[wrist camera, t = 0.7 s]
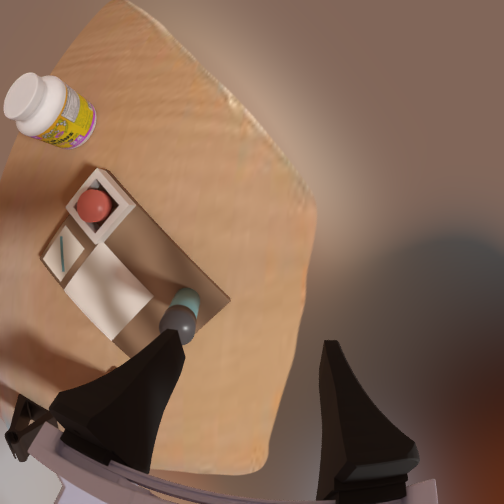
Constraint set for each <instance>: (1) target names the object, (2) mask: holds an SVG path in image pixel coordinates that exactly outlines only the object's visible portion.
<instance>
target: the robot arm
mask: <svg viewBox="0 0 504 504" xmlns="http://www.w3.org/2000/svg"><path fill="white" fill-rule="evenodd" d="M184 361H185V354H184V351H183V347H182V344H181V340H180V337H179V333H178V330H174V329H166V330H165V331H163V332H162V333H161V334H160V335H159V336H158V337H156V338H155V339H154V340H153V341H152V342H151V343H150V344H148V345H147V346H146V347H145V348H144V349H142V350H141V351H140V352H139V353H137V354H136V355H135V356H133V357H132V358H131V359H129V360H128V361H127V362H125V363H124V364H123V365H121V366H120V367H118V368H116V369H115V370H113V371H112V372H110V373H108V374H106V375H104V376H102V377H100V378H98V379H96V380H94V381H92V382H90V383H87V384H85V385H82V386H79V387H77V388H73V389H70V390H66V391H63V392H59V394H58V395H57V396H56V398H55V399H54V401H53V402H52V404H51V405H50V407H49V411H50V413H51V414H52V416H53V417H54V418H55V419H56V420H57V421H58V422H59V423H60V424H61V425H62V426H63V427H64V428H65V431H64V432H62V431H60V430H59V429H58V428H56V427H54V426H53V425H51V424H49V423H48V422H45V423H44V425H43V426H42V428H41V429H40V431H39V433H38V434H37V436H36V438H35V439H34V441H33V442H32V444H31V446H30V447H29V449H28V453H29V454H30V455H32V456H33V457H34V458H36V459H37V460H38V461H40V462H41V463H42V464H44V465H45V466H46V467H48V468H49V469H51V470H52V471H53V472H55V473H56V474H57V476H58V478H59V479H60V481H61V483H62V485H63V486H62V488H61V490H60V492H59V494H58V496H57V498H56V500H55V502H54V504H178V503H174V502H171V501H167V500H164V499H161V498H159V497H157V496H155V495H154V494H152V493H151V492H150V491H149V490H146V489H144V488H142V487H140V486H143V487H145V488H148V489H151V490H154V491H157V492H160V493H163V494H166V495H169V496H173V497H176V498H179V499H183V500H187V501H191V502H195V503H199V504H438V499H437V490H436V483H435V479H431V480H428V481H424V482H420V483H416V484H413V485H410V486H407V487H406V484H405V482H406V481H407V480H408V476H407V473H408V472H410V471H411V470H412V469H413V468H414V467H416V466H417V465H418V463H419V461H420V459H419V453H418V450H417V447H416V444H415V442H414V441H413V440H411V439H410V438H409V437H407V436H406V435H405V434H404V433H402V432H401V431H400V430H399V429H398V428H397V427H395V425H393V424H392V423H391V422H390V421H389V420H388V419H387V417H386V416H385V415H384V414H383V413H382V412H381V411H380V410H379V409H378V408H377V407H376V405H375V404H374V403H373V402H372V400H371V399H370V398H369V396H368V395H367V393H366V392H365V391H364V389H363V388H362V386H361V385H360V383H359V381H358V380H357V378H356V376H355V375H354V373H353V371H352V369H351V368H350V366H349V364H348V362H347V360H346V358H345V356H344V353H343V352H342V349H341V346H340V344H339V342H338V341H337V340H325V341H324V345H323V351H322V357H321V362H320V368H319V393H320V404H321V416H322V448H321V462H320V472H319V481H318V489H317V496H316V501H282V500H266V499H256V498H247V497H240V496H232V495H226V494H221V493H215V492H210V491H205V490H201V489H196V488H192V487H188V486H184V485H180V484H177V483H173V482H170V481H166V480H163V479H160V478H157V477H154V476H151V475H148V474H149V471H150V464H151V458H152V453H153V448H154V444H155V440H156V436H157V432H158V428H159V425H160V422H161V418H162V415H163V412H164V410H165V407H166V405H167V403H168V401H169V398H170V396H171V394H172V392H173V390H174V388H175V385H176V383H177V381H178V379H179V376H180V374H181V371H182V368H183V364H184ZM138 485H140V486H138Z"/></svg>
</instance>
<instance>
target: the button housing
mask: <svg viewBox="0 0 504 504" xmlns="http://www.w3.org/2000/svg"><path fill="white" fill-rule="evenodd" d="M101 185H102V186H103V187H104V188H105V189H106V190H107V192H108V193H109V194H110V195H111V196H112V197H113V199H114V200H115V201H116V202H117V203H118V204H119V206H118V207H117V208H116V210H115V211H114V212H113V213H112V214H111V215H110V217H109V218H108V219H107V220H106V221H105V222H104V224H103V225H102V226H101V227H99V225H98V224H97V223H96V222H92V223H88V222H85V221H83V220H82V219H81V218H80V216H79V214H78V211H77V202H78V199H79V197H80V196H81V194H82V193H83V192H85V191H87V190H90V189H93V190H97V189H98V188H99V187H100V186H101ZM135 206H136V204H135V203H134V202H133V201H132V200H131V199H130V198H129V197H128V195H127V194H126V193H125V192H124V191H123V190H122V189H121V187H120V186H119V185H118V184H117V183H116V182H115V181H114V179H113V178H112V177H111V176H110V175H109V174H108V173H107V171H105V170H102V169H99V168H96V169H95V171H94V172H93V173H92V174H91V175H90V176H89V178H88V179H87V180H86V181H85V183H84V184H83V185H82V186H81V188H80V189H79V190H78V191H77V193H76V194H75V195H74V196H73V198H72V199H71V200H70V202H69V203H68V204H67V206H66V207H65V208H66V209H67V210H68V212H69V213H70V214H71V215H72V217H73V218H74V219H75V221H76V222H77V223H78V224H79V226H80V227H81V228H82V229H83V230H84V232H85V233H86V234H87V235H88V237H89V238H90V239H91V240H92V241H93V242H94V244H95V245H96V244H99V243H102V242H105V240H106V239H107V238H108V237H109V236H110V235H111V233H112V232H113V231H114V230H115V229H116V228H117V226H118V225H119V224H120V223H121V222H122V221H123V220H124V218H125V217H126V216H127V215H128V214H129V213H130V212H131V211H132V210H133V208H134V207H135Z"/></svg>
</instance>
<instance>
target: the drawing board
mask: <svg viewBox="0 0 504 504" xmlns="http://www.w3.org/2000/svg"><path fill="white" fill-rule="evenodd" d="M105 171H107V173H108V174H109V175H110V176H111V177H112V178H113V179H114V181H115V182H116V183H117V184H118V185H119V186H120V187H121V189H122V190H123V191H124V192H125V193H126V194H127V195H128V197H129V198H130V199H131V200H132V201H133V202H134V203H135V204H136V206H135V207H134V208H133V210H132V211H131V212H130V213H129V214H128V215H127V216H126V217H125V218H124V220H123V221H122V222H121V223H120V224H119V225H118V226H117V228H116V229H115V230H114V231H113V232H112V233H111V235H110V236H109V237H108V238H107V239H106V240H105V242H102V243H99V244H96V245H95V244H94V242H93V241H92V240H91V239H90V238H89V237H88V235H87V234H86V233H85V232H84V230H83V229H82V228H81V227H80V226H79V224H78V223H77V222H76V221H75V219H74V218H73V217H72V215H71V214H69V216H68V217H67V218H66V220H65V221H64V223H63V224H62V225H61V227H60V228H59V230H58V231H57V233H56V234H55V235H54V237H53V238H52V240H51V241H50V243H49V245H48V246H47V248H46V249H45V251H44V252H43V254H42V256H41V257H40V260H41V261H42V263H43V264H44V265H45V267H46V268H47V269H48V271H49V272H50V273H51V274H52V276H53V277H54V278H55V280H56V281H57V282H58V283H59V284H60V286H61V287H62V288H63V289H64V291H65V292H66V293H67V295H68V296H69V297H70V298H71V299H72V300H73V302H74V303H75V304H76V305H77V306H78V307H79V308H80V309H81V310H82V312H83V313H84V314H85V315H86V316H87V317H88V318H89V319H90V320H91V321H92V322H93V323H94V324H95V325H96V326H97V327H98V328H99V329H100V330H101V331H102V332H103V333H104V334H105V335H106V336H107V337H108V338H109V339H110V340H111V341H112V342H114V343H115V344H116V345H117V346H118V347H119V348H120V349H121V350H122V351H123V352H124V353H125V354H126V355H128V356H129V357H130V358H132V357H133V356H135V355H136V354H137V353H139V352H140V351H141V350H142V349H144V348H145V347H146V346H147V345H148V344H150V343H151V342H152V341H153V340H154V339H155V338H156V337H158V336H159V335H160V332H159V323H160V320H161V318H162V317H163V315H164V313H165V311H166V310H167V309H168V307H169V305H170V304H171V302H172V300H173V298H174V296H175V294H176V292H177V291H178V290H180V289H182V288H191V289H193V290H195V291H196V292H197V293H198V295H199V297H200V305H199V310H198V315H197V324H196V329H195V333H196V332H197V331H198V330H199V329H201V328H202V327H203V326H204V325H205V324H206V323H207V322H208V321H209V320H211V319H212V318H213V317H214V316H215V315H216V314H217V313H218V312H219V311H220V310H222V309H223V308H224V307H225V306H226V305H227V304H228V303H229V302H230V301H231V300H230V298H229V297H228V296H227V295H226V294H225V293H224V292H223V291H222V290H221V289H220V288H219V287H218V286H217V285H216V284H215V283H214V282H213V281H212V280H211V279H210V278H209V277H208V276H207V275H206V274H205V273H204V272H203V271H202V270H201V269H200V268H199V267H198V266H197V265H196V264H195V263H194V262H193V261H192V260H191V259H190V258H189V257H188V256H187V255H186V254H185V253H184V252H183V251H182V249H181V248H180V247H179V246H178V245H177V244H176V243H175V242H174V241H173V240H172V239H171V238H170V237H169V236H168V235H167V234H166V233H165V232H164V231H163V230H162V228H161V227H160V226H159V225H158V224H157V223H156V222H155V221H154V220H153V219H152V218H151V217H150V216H149V215H148V213H147V212H146V211H145V210H144V209H143V208H142V207H141V206H140V205H139V204H138V202H137V201H136V200H135V199H134V198H133V197H132V196H131V195H130V194H129V192H128V191H127V190H126V189H125V188H124V187H123V186H122V185H121V183H120V182H119V181H118V180H117V179H116V178H115V177H114V175H113V174H112V173H111V172H110V171H109V170H105ZM97 190H100V191H104V192H106V193H107V194H108V195H109V196H110V198H111V200H112V210H111V213H110V215H111V214H112V213H113V212H114V211H115V210H116V208H117V207H118V206H119V204H118V203H117V202H116V201H115V200H114V199H113V197H112V196H111V195H110V194H109V193H108V192H107V190H106V189H105V188H104V187H103V186H102V185H101V186H100V187H99V188H98V189H97ZM110 215H109V216H108V217H107V218H106V219H105V220H103V221H100V222H96V223H97V224H98V225H99V227H101V226H102V225H103V224H104V222H105V221H106V220H107V219H108V218H109V217H110Z"/></svg>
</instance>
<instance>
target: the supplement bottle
mask: <svg viewBox="0 0 504 504" xmlns="http://www.w3.org/2000/svg"><path fill="white" fill-rule="evenodd" d="M4 114H5V116H6V117H7V118H9V119H12V120H14V121H15V122H16V126H17V128H18V130H19V131H20V132H21V133H22V134H24V135H27V136H29V137H32V138H35V139H38V140H41V141H44V142H46V143H49V144H52V145H55V146H57V147H60V148H63V149H74V148H77V147H79V146H81V145H82V144H83V143H85V142H86V141H87V140H88V138H89V137H90V136H91V134H92V132H93V130H94V128H95V125H96V111H95V108H94V107H93V105H92V104H91V103H89V102H88V101H87V100H86V99H85V98H83V97H82V96H81V95H79V94H78V93H77V92H76V91H74V90H73V89H72V88H71V87H69V86H68V85H67V84H65V83H64V82H63V81H62V80H60V79H59V78H58V77H55V76H44V77H40V76H38V75H36V74H35V73H31V72H30V73H26V74H24V75H22V76H21V77H19V78H18V79H17V80H16V81H15V82H14V84H13V85H12V87H11V88H10V89H9V91H8V93H7V95H6V98H5V102H4Z"/></svg>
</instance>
